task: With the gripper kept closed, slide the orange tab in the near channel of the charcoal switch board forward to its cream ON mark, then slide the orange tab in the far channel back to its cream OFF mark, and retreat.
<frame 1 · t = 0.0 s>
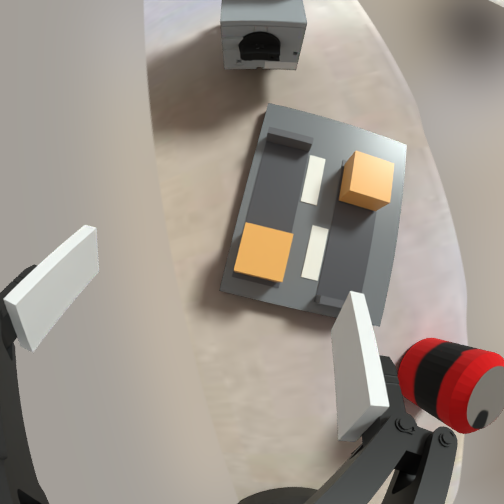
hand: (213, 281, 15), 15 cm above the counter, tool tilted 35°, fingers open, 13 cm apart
switch board: (322, 211, 31), on the counter
circuit breaker: (257, 56, 34), on the counter
tab 2: (366, 182, 28), point 4 cm above the counter, slide at 9.0 cm
tab 1: (262, 254, 27), point 4 cm above the counter, slide at 0.0 cm
soda can: (423, 369, 30), on the counter
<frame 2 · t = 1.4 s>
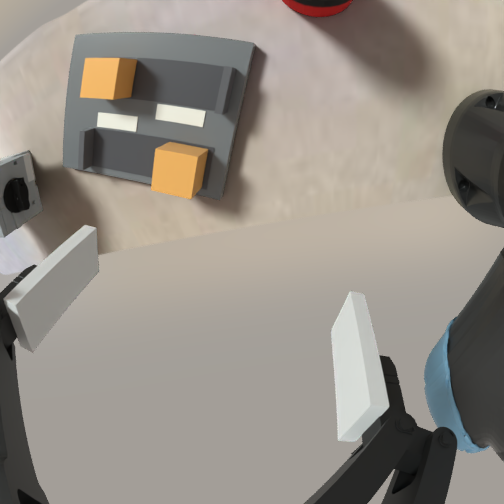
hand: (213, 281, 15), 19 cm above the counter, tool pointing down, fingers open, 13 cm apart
switch board: (145, 106, 29), on the counter
circuit breaker: (30, 176, 35), on the counter
tab 2: (108, 77, 25), point 4 cm above the counter, slide at 9.0 cm
tab 1: (179, 169, 28), point 4 cm above the counter, slide at 0.0 cm
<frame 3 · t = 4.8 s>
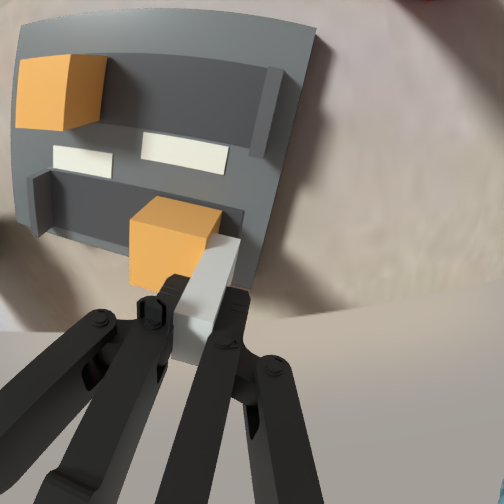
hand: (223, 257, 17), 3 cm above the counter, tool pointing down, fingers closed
switch board: (126, 133, 18), on the counter
tab 2: (59, 89, 13), point 4 cm above the counter, slide at 9.0 cm
tab 1: (175, 247, 17), point 4 cm above the counter, slide at 0.7 cm, touching gripper
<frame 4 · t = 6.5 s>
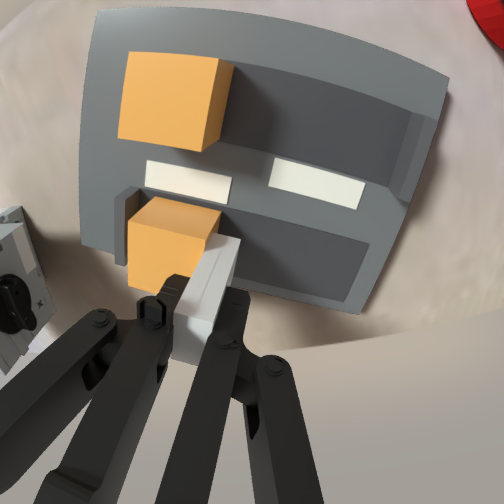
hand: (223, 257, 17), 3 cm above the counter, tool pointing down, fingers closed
switch board: (240, 154, 18), on the counter
circuit breaker: (27, 243, 23), on the counter
tab 2: (177, 97, 13), point 4 cm above the counter, slide at 9.0 cm
tab 1: (173, 248, 17), point 4 cm above the counter, slide at 8.2 cm, touching gripper
soda can: (503, 6, 10), on the counter
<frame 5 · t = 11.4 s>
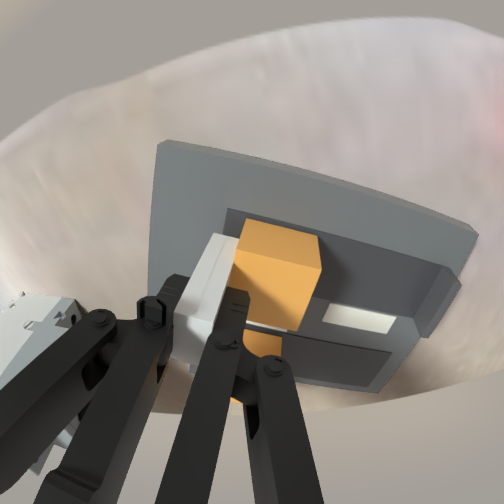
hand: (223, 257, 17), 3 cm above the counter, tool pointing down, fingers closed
switch board: (297, 289, 21), on the counter
circuit breaker: (81, 327, 27), on the counter
tab 2: (271, 274, 17), point 4 cm above the counter, slide at 8.3 cm, touching gripper
tab 1: (244, 367, 21), point 4 cm above the counter, slide at 8.2 cm
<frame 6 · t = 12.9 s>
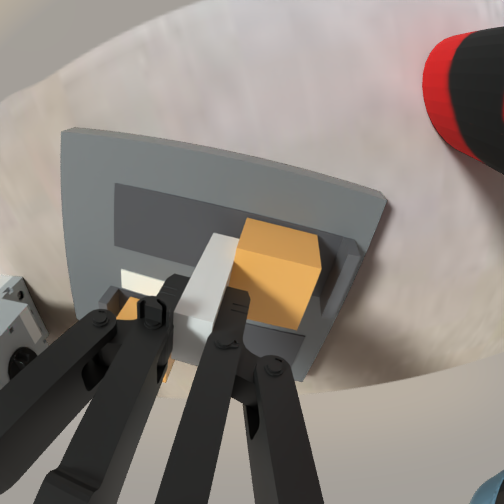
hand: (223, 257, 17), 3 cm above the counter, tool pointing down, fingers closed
switch board: (196, 263, 21), on the counter
circuit breaker: (31, 304, 27), on the counter
tab 2: (271, 273, 17), point 4 cm above the counter, slide at 1.2 cm, touching gripper
tab 1: (147, 339, 21), point 4 cm above the counter, slide at 8.2 cm
soda can: (470, 94, 14), on the counter
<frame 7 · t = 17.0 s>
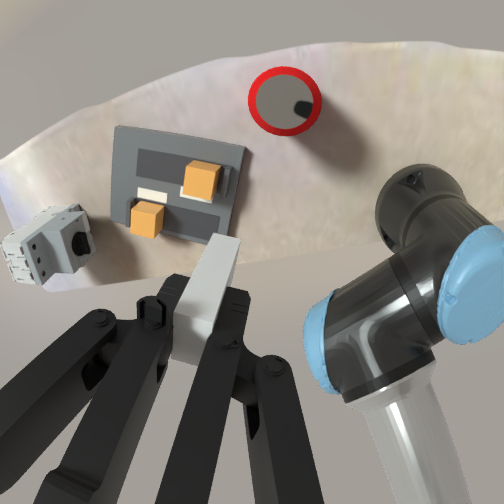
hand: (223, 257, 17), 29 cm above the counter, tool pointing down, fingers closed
switch board: (171, 184, 47), on the counter
circuit breaker: (80, 222, 53), on the counter
tab 2: (201, 179, 42), point 4 cm above the counter, slide at 0.6 cm
tab 1: (147, 219, 46), point 4 cm above the counter, slide at 8.2 cm
soda can: (286, 98, 39), on the counter
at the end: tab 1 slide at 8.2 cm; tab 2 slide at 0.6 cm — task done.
